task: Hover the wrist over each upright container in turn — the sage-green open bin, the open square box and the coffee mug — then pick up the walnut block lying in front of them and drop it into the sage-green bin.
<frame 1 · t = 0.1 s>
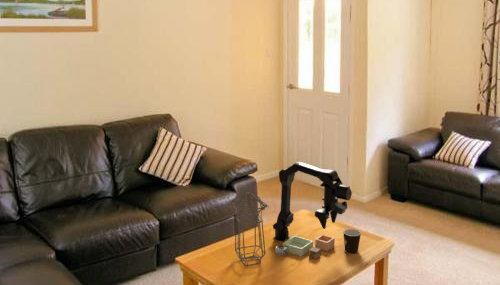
hand: (328, 225, 250), 15 cm above the table, fingers open, 9 cm apart
coffee mug: (351, 249, 257), on the table
open square box: (324, 247, 260), on the table
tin: (281, 254, 253), on the table
geometric lantern: (249, 260, 247), on the table
bin: (297, 249, 258), on the table
walnut block: (314, 256, 250), on the table
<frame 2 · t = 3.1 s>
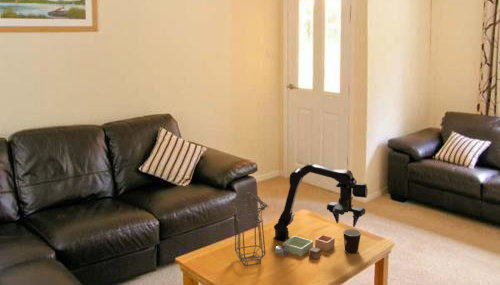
hand: (345, 225, 254), 13 cm above the table, fingers open, 9 cm apart
nothing on the table moved.
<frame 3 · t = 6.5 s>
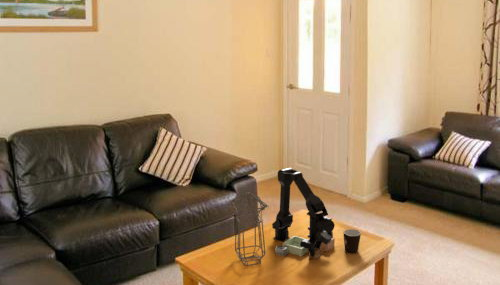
hand: (314, 254, 249), 1 cm above the table, fingers closed on walnut block, 4 cm apart
walnut block: (314, 256, 250), on the table, touching gripper
everything else where it was.
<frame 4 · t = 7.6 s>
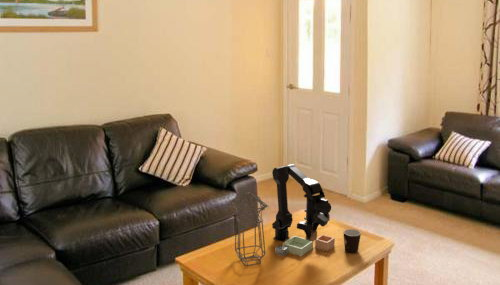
hand: (311, 237, 249), 10 cm above the table, fingers closed on walnut block, 4 cm apart
walnut block: (311, 239, 249), point 9 cm above the table, touching gripper
everything else where it was.
when the fingers open (6 cm above the table, at t = 8.9 s): walnut block drops 5 cm, resting on bin.
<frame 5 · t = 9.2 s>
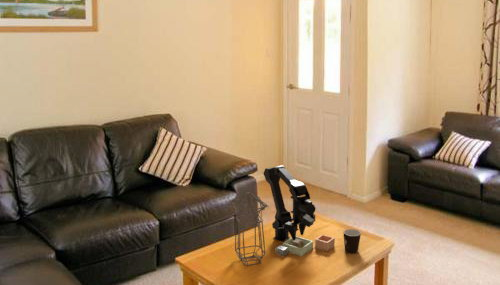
hand: (297, 237, 256), 6 cm above the table, fingers open, 7 cm apart
walnut block: (297, 248, 258), resting on bin
everything else where it was.
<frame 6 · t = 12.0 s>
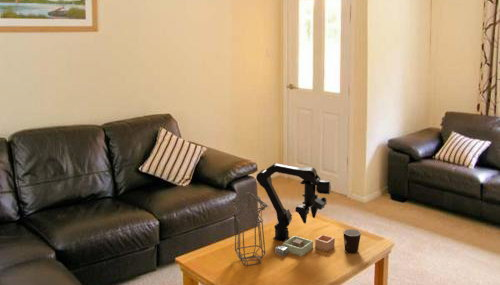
hand: (309, 220, 263), 12 cm above the table, fingers open, 9 cm apart
nothing on the table moved.
at the end: walnut block inside the target area on the bin (0.0 cm from its centre), point 0.5 cm above the bin's base; the gripper is holding nothing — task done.
